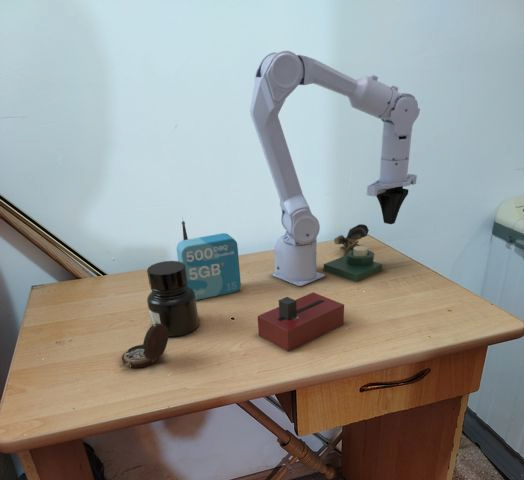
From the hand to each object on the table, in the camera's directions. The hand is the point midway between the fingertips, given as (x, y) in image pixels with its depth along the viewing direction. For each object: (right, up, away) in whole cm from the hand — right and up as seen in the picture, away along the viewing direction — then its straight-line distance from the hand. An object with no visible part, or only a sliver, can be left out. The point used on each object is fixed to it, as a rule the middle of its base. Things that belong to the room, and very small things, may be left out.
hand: (389, 222), depth 105 cm
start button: (-6, -6, +4) cm, 9 cm away
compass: (-49, -31, -25) cm, 63 cm away
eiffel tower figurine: (-46, -10, +9) cm, 48 cm away
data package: (-39, -16, -2) cm, 42 cm away
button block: (-7, -10, +4) cm, 13 cm away
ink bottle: (-45, -24, -15) cm, 53 cm away
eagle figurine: (-5, -3, +16) cm, 17 cm away
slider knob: (-24, -22, -22) cm, 40 cm away
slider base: (-21, -25, -19) cm, 37 cm away
